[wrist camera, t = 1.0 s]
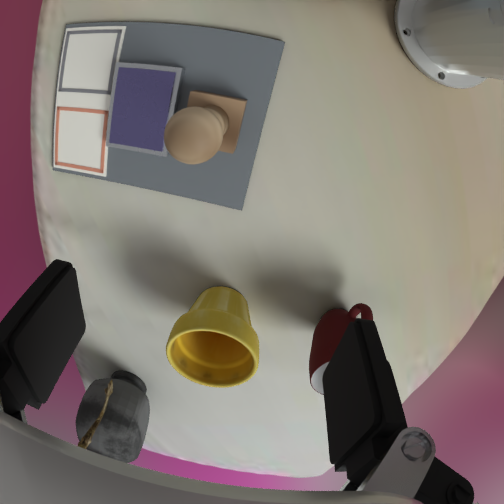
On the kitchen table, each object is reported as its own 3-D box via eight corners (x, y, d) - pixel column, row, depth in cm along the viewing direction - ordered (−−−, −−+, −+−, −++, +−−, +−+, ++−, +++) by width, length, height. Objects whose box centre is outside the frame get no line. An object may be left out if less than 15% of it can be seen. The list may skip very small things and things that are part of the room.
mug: (324, 275, 38) (333, 334, 29) (382, 287, 38) (402, 344, 30) (298, 334, 44) (300, 393, 35) (351, 343, 44) (360, 399, 35)
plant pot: (268, 279, 39) (264, 337, 31) (257, 337, 44) (252, 393, 36) (185, 266, 39) (161, 321, 31) (185, 326, 44) (168, 379, 36)
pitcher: (109, 394, 58) (64, 514, 33) (96, 337, 48) (24, 489, 23) (157, 409, 59) (121, 536, 33) (155, 355, 49) (98, 524, 23)
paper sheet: (67, 28, 24) (65, 28, 23) (126, 26, 24) (125, 25, 24) (54, 166, 32) (53, 167, 32) (106, 176, 33) (105, 177, 33)
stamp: (196, 89, 28) (155, 98, 18) (247, 99, 28) (230, 112, 18) (187, 137, 30) (145, 169, 21) (236, 147, 30) (215, 184, 21)
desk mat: (69, 24, 24) (66, 24, 23) (284, 42, 25) (285, 41, 24) (55, 168, 33) (52, 170, 33) (242, 208, 34) (241, 210, 34)
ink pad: (122, 62, 26) (115, 62, 25) (186, 68, 26) (181, 68, 25) (111, 143, 31) (104, 146, 29) (170, 153, 31) (165, 157, 30)
